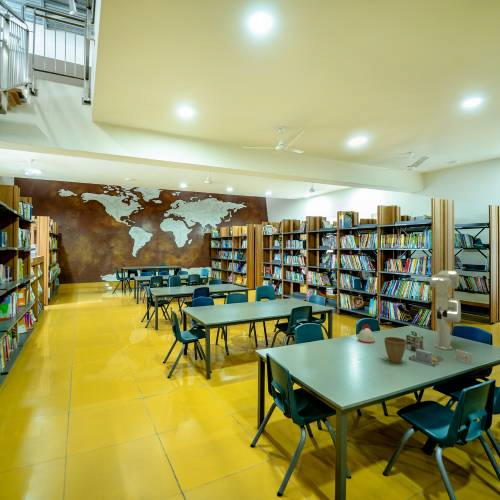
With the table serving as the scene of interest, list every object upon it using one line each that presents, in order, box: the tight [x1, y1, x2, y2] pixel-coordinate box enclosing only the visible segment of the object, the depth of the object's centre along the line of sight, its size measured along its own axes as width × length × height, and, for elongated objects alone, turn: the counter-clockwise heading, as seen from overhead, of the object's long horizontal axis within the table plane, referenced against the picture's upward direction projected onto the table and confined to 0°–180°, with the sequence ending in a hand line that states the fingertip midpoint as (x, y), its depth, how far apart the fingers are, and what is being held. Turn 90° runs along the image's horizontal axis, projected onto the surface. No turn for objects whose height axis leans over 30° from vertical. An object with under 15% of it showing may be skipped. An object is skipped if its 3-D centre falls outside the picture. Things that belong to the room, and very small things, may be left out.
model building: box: [405, 330, 425, 353], centre depth 257 cm, size 9×9×15 cm
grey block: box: [415, 349, 433, 363], centre depth 230 cm, size 3×10×7 cm, turn 36°
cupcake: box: [357, 323, 376, 345], centre depth 280 cm, size 14×14×15 cm
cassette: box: [455, 348, 473, 366], centre depth 229 cm, size 12×2×8 cm, turn 19°
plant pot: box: [383, 336, 407, 364], centre depth 231 cm, size 15×15×16 cm
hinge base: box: [408, 354, 444, 367], centre depth 233 cm, size 18×19×3 cm
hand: (442, 317), depth 237 cm, fingers open, 9 cm apart
